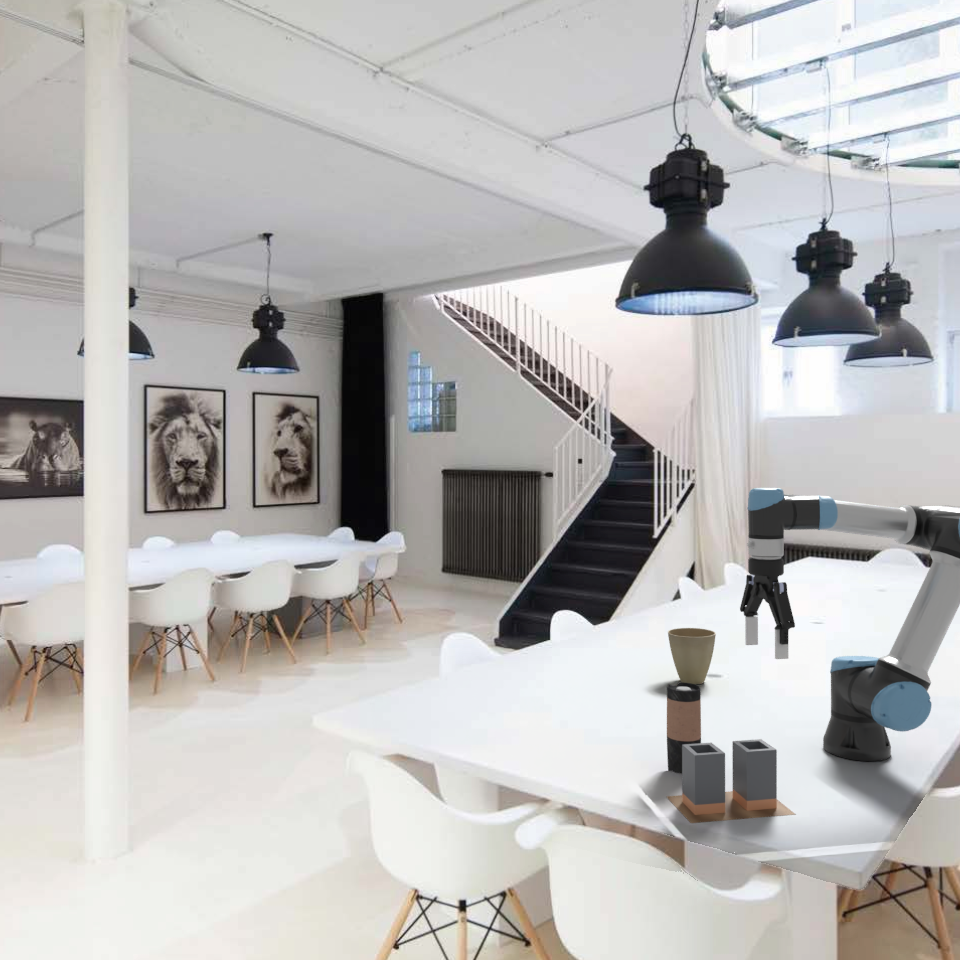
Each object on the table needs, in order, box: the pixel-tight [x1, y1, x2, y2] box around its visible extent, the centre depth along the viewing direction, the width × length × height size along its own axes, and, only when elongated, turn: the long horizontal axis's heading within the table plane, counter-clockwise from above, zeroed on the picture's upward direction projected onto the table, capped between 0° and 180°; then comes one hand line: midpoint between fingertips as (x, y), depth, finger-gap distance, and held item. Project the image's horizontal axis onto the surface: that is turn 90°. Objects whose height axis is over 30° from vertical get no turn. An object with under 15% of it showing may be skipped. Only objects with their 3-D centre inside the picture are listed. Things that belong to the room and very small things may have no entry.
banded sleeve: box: [681, 742, 726, 815], centre depth 172 cm, size 6×6×12 cm
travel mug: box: [666, 681, 702, 775], centre depth 193 cm, size 8×8×20 cm
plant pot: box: [667, 627, 717, 685], centre depth 270 cm, size 15×15×16 cm
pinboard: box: [665, 790, 797, 824], centre depth 172 cm, size 22×13×8 cm, turn 99°
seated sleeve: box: [732, 738, 778, 811], centre depth 173 cm, size 6×6×12 cm
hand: (766, 651), depth 189 cm, fingers open, 13 cm apart
